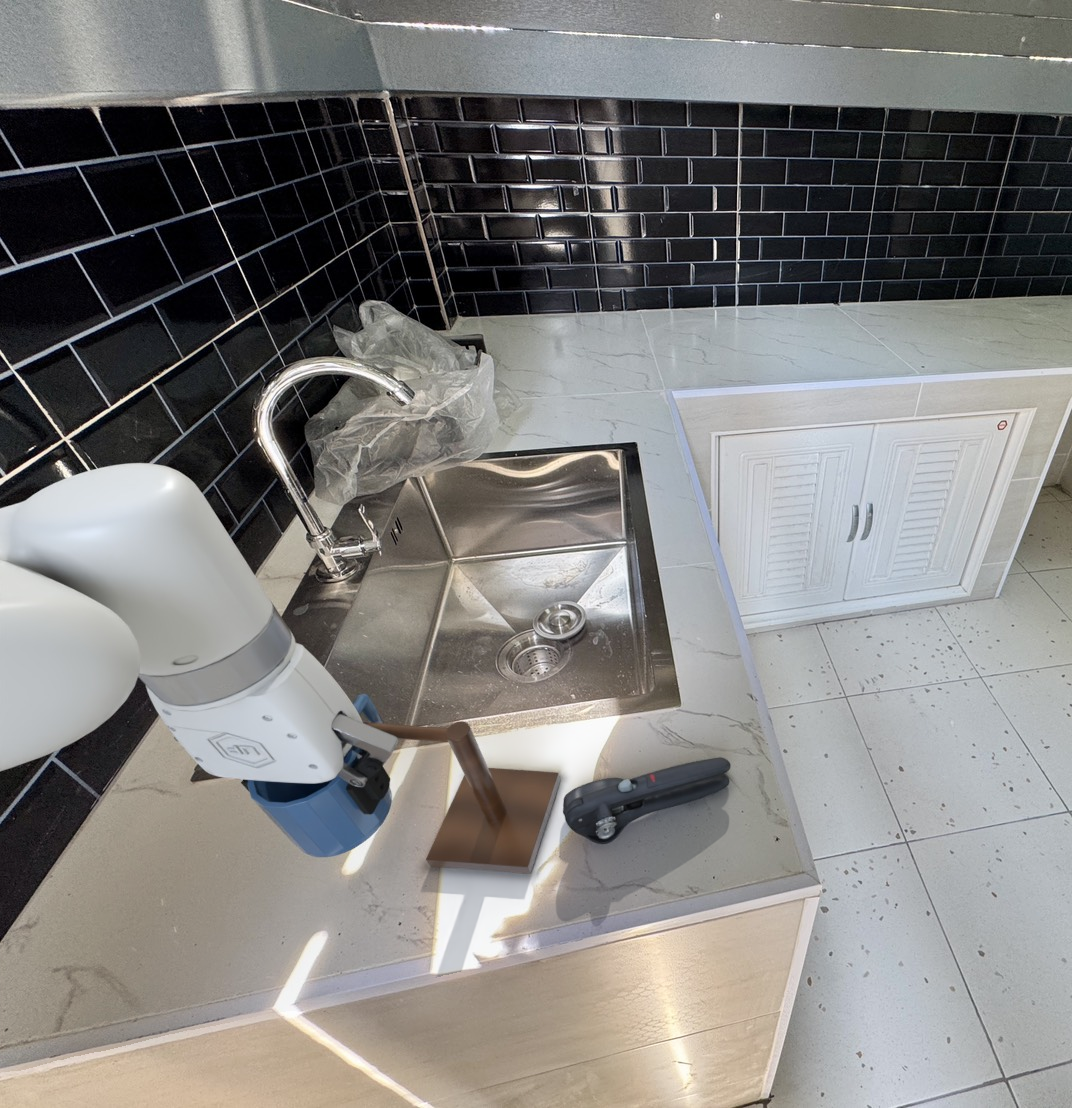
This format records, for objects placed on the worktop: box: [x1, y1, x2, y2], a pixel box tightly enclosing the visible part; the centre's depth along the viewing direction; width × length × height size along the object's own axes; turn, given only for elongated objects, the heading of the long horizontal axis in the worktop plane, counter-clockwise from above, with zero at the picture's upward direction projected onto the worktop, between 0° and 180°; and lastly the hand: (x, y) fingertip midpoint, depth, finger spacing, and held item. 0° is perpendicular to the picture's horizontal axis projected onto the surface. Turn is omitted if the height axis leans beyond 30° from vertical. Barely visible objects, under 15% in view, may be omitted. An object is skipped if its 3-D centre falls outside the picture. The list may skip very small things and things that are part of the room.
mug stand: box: [362, 720, 561, 875], centre depth 58 cm, size 10×17×16 cm, turn 86°
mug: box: [248, 693, 393, 858], centre depth 51 cm, size 11×7×8 cm, turn 177°
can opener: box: [562, 756, 732, 845], centre depth 62 cm, size 18×7×6 cm, turn 109°
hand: (329, 793), depth 50 cm, fingers closed on mug, 7 cm apart
